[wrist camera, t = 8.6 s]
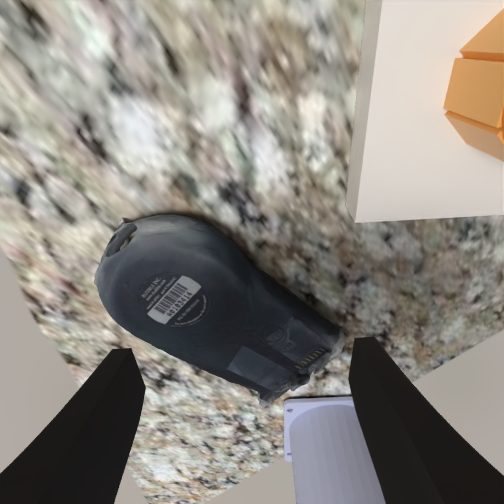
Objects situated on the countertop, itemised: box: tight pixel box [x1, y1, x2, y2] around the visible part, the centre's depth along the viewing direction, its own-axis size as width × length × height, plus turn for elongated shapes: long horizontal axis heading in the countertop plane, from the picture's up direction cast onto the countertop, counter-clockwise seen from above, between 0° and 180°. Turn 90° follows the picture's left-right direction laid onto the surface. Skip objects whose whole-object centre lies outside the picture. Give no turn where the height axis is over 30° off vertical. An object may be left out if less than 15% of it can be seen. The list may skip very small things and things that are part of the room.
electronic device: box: [94, 214, 345, 406], centre depth 21 cm, size 9×6×15 cm
